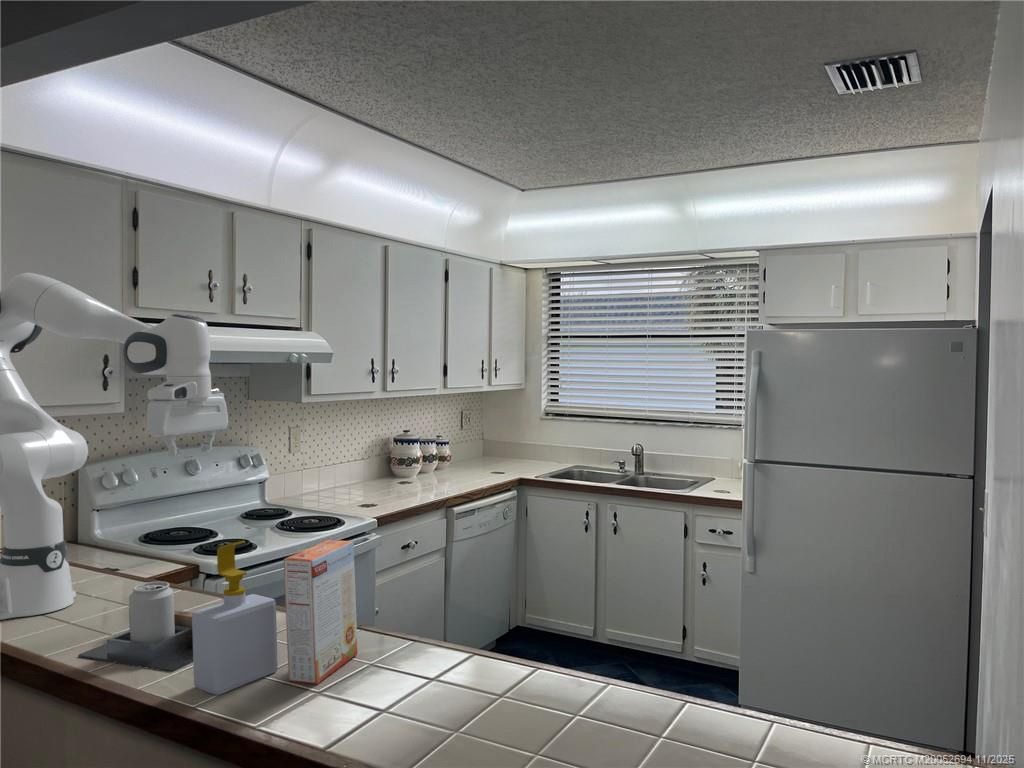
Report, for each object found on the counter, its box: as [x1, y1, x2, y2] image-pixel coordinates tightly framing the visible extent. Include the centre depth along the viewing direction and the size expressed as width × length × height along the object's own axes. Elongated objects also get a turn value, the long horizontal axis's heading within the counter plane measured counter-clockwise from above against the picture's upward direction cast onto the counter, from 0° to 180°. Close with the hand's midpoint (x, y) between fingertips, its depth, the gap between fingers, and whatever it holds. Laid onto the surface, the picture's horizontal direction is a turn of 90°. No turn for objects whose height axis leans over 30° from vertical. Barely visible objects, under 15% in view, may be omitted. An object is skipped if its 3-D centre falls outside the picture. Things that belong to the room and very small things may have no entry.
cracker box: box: [283, 539, 358, 685], centre depth 136 cm, size 14×6×21 cm, turn 162°
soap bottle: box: [192, 540, 278, 696], centre depth 132 cm, size 12×7×23 cm, turn 145°
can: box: [128, 581, 175, 644], centre depth 145 cm, size 8×8×12 cm
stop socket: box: [78, 624, 193, 673], centre depth 145 cm, size 22×12×3 cm, turn 69°
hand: (190, 453), depth 170 cm, fingers open, 8 cm apart
